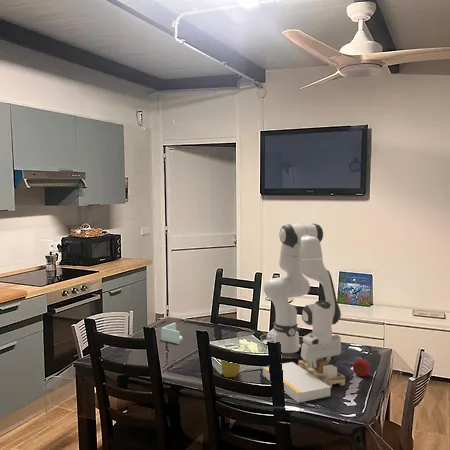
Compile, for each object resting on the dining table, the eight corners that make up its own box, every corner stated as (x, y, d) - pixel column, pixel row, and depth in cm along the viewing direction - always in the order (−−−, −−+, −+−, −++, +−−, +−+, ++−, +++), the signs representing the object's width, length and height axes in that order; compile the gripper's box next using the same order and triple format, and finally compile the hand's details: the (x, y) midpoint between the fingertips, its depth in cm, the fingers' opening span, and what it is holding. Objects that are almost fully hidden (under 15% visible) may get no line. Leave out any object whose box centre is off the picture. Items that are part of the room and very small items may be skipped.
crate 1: (306, 364, 234) (306, 355, 234) (314, 363, 236) (314, 354, 236) (311, 368, 230) (312, 359, 230) (319, 366, 232) (320, 357, 232)
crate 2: (322, 375, 222) (323, 365, 222) (330, 373, 224) (331, 364, 224) (328, 379, 218) (329, 369, 218) (336, 377, 220) (337, 367, 220)
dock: (262, 375, 229) (262, 366, 228) (292, 370, 235) (292, 361, 235) (297, 402, 201) (298, 392, 201) (330, 395, 208) (330, 386, 208)
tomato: (363, 354, 233) (358, 356, 226) (375, 367, 229) (371, 370, 223) (351, 365, 235) (346, 367, 228) (363, 378, 232) (359, 381, 225)
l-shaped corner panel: (178, 345, 270) (178, 331, 269) (161, 341, 276) (161, 327, 275) (191, 339, 280) (191, 326, 279) (174, 335, 286) (174, 322, 285)
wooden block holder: (298, 368, 237) (298, 352, 236) (313, 365, 241) (314, 350, 240) (328, 388, 215) (328, 371, 214) (344, 384, 219) (345, 368, 218)
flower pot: (219, 371, 232) (219, 353, 231) (238, 371, 233) (238, 353, 232) (220, 379, 224) (221, 360, 223) (240, 379, 224) (240, 359, 223)
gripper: (336, 332, 233) (335, 360, 234) (299, 337, 224) (298, 367, 226) (344, 336, 227) (343, 365, 229) (307, 342, 219) (306, 372, 220)
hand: (321, 366), depth 227 cm, fingers closed on wooden block holder, 4 cm apart
